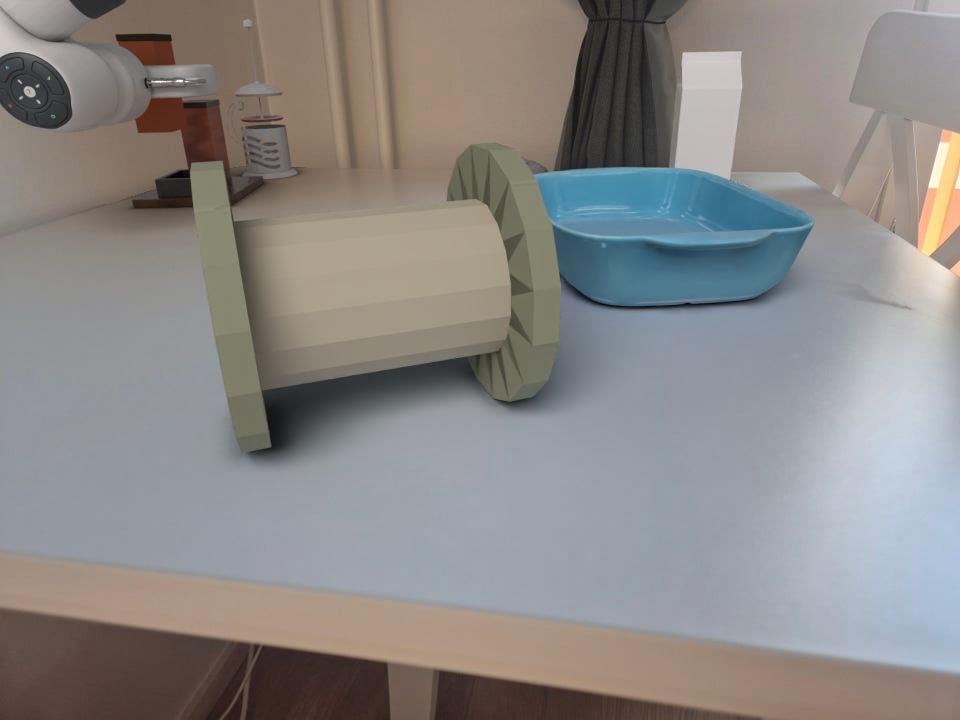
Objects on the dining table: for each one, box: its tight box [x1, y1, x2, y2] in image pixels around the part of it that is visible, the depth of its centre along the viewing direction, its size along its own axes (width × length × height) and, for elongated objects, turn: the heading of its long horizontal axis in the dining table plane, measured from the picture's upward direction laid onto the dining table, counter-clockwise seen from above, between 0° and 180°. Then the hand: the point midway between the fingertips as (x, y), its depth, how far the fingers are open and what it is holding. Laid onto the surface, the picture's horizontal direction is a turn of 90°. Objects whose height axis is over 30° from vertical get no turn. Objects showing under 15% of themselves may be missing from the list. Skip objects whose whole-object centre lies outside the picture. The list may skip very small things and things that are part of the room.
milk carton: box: [668, 50, 743, 180], centre depth 88 cm, size 7×7×19 cm
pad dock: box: [131, 98, 265, 209], centre depth 103 cm, size 14×18×13 cm
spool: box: [190, 142, 562, 454], centre depth 39 cm, size 16×15×15 cm
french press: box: [224, 18, 299, 180], centre depth 117 cm, size 10×12×25 cm
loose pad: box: [114, 33, 187, 134], centre depth 91 cm, size 5×6×12 cm
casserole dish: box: [534, 166, 815, 307], centre depth 67 cm, size 37×22×7 cm, turn 5°
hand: (155, 79), depth 92 cm, fingers closed on loose pad, 4 cm apart
